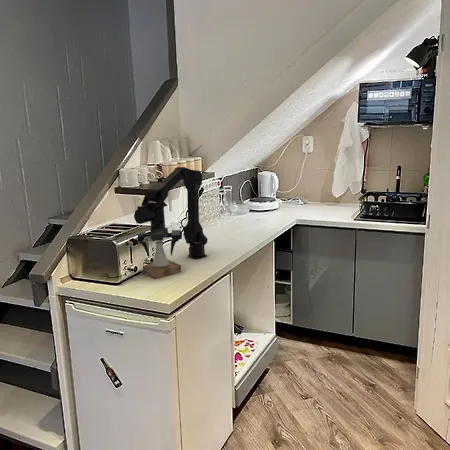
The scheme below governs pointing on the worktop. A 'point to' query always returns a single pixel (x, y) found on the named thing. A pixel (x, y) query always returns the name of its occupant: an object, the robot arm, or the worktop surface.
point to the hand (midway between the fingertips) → (160, 256)
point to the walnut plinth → (161, 270)
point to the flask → (160, 256)
